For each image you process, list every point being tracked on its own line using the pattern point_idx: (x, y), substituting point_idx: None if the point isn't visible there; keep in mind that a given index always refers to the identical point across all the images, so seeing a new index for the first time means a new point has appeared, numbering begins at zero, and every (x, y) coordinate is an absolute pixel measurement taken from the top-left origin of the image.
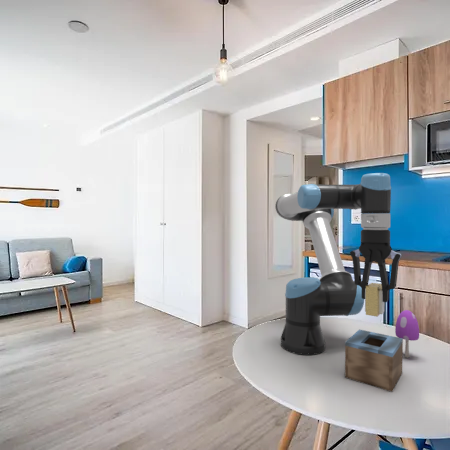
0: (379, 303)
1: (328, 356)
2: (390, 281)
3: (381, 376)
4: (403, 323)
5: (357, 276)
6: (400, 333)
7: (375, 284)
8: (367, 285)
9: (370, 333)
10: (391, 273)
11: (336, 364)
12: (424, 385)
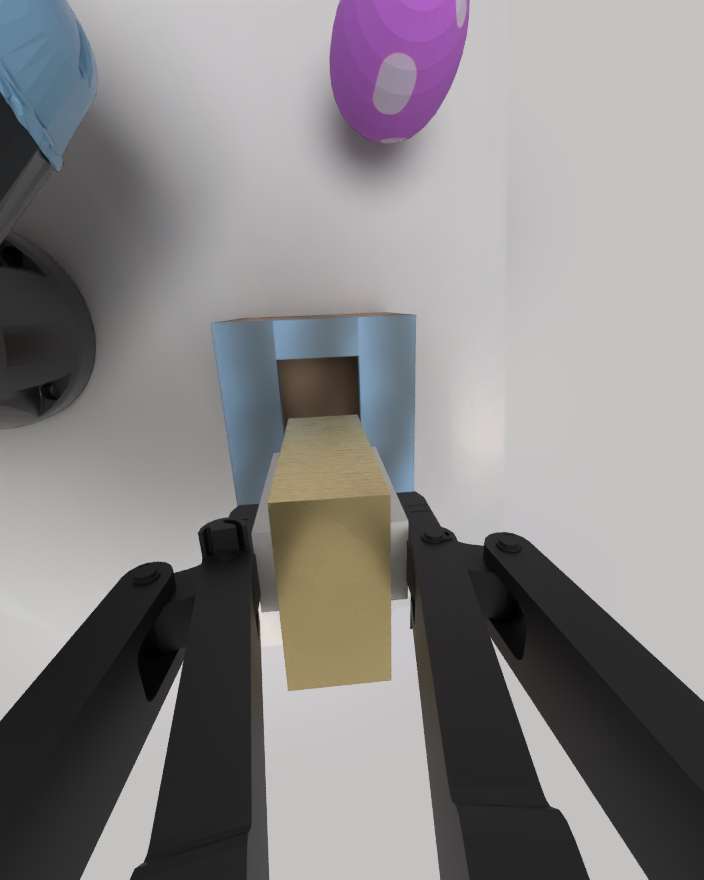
0: None
1: (135, 355)
2: (515, 666)
3: None
4: (393, 96)
5: (142, 724)
6: (368, 128)
7: (332, 568)
8: (290, 664)
9: (278, 348)
10: (582, 763)
11: (194, 400)
12: (454, 358)
